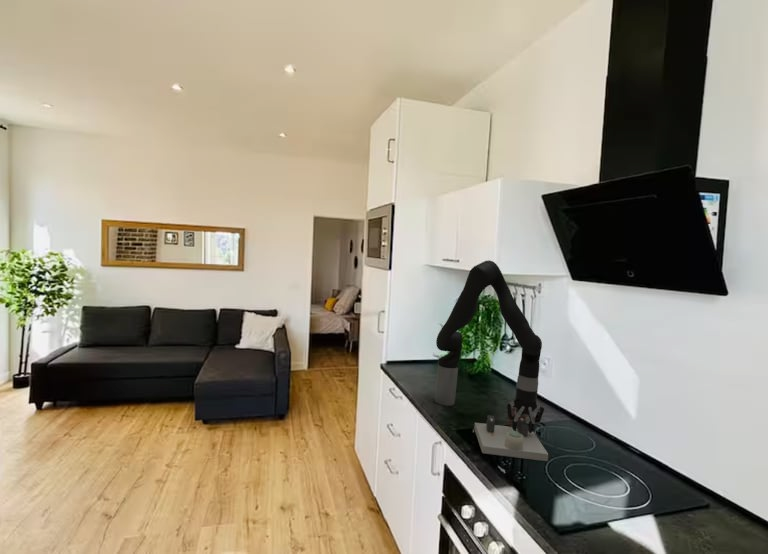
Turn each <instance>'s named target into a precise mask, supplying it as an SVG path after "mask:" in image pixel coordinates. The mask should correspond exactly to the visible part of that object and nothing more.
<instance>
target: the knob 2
mask: <svg viewBox="0 0 768 554" xmlns="http://www.w3.org/2000/svg"><path fill="white" fill-rule="evenodd" d="M528 428H529V423H527V420H526V421H525V420H524V419H522V418H520V419H518V424H517V430H518V432H519V433H520V434H522V435H523V436H527V437H528Z"/></svg>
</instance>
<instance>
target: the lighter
mask: <svg viewBox="0 0 768 554" xmlns="http://www.w3.org/2000/svg"><path fill="white" fill-rule="evenodd" d="M512 402H514V400H513V401H512ZM515 410H516V407H515V406H513V408H512V409H511V411H512V416H513V415H514V412H515ZM520 418H522V419H524V420H525V421H526V422H527V415H526V414H521V415H520V417H519V418H518V419H520ZM517 424H518V420H517ZM507 425H508V426H509V427H512V420H511V419H509V418H508V421H507Z"/></svg>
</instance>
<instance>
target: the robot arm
mask: <svg viewBox="0 0 768 554" xmlns="http://www.w3.org/2000/svg"><path fill="white" fill-rule="evenodd" d="M489 286H490V287H492V288H493V290H494V291H495V293H496V298H497V300H498V304H499V309H500V314H501V316H502V318H503V320H504V321H505V323H506V324H507V326H508V327H509V329H510V331H512V333H513V334H514V337H515V339H516V341H517V342H518V344H519V346H520V348H521V357H520V362H519V367H518V376H517V379H516V390H515V399H514V400H513V401H514V402H513V401H512V402H509V401H506V402H505V404H506V412H507V417H508V420H509V419H511V420H512V426H511V427H512V429H513V430H514V431H516V429H517V420H518V418H519V417H520V415H521V414H526V416H528V418H529V421H528V426H529V428H528V431H529V433H532V432H534V430H535V424H536V423H537V424H538V423H540V422H541V420H542V417H543V416H544V415H543V414H544V411H545V407H544V406H543V405H538V404H537V400H538V398H537V397H538V391H539V390H538V389H539V375H540V374H539V373H540V358H541V352H542V349H543V348H542V347H543V342H542V339H541V337H540V336H538V335H537V334H536V333H535V332H534V330H533V329H532V328H531V326H530V323H529V321H528V319H527V317H526V316H525V314H524V313H523V312H522V310H521V309H520V307H519V306H518V304H517V302H516V300H515V298H514V297H513V294H512V293H511V290H510V288H509V286H508V283H507V281H506V278H504V275H503V272H502V271H501V268H500V267H499V266H498V264H497V263H496V262H495V261H492V260H490V259H489V260H485V261H481V262H480V263H478V264H476V265H474V266H473V267H472V268H471V269H470V271H469V273H468V275H467V278H466V280H465V284H464V286H463V289H462V291H461V293H460V294H459V296H458V299H457V300H456V301H455V304H454V306H453V307H452V310H451V313H449V316H448V318H447V320H446V322H445V323H444V325H443V326H442V327H441V328H440V330H439V332H438V333H437V337H436V339H435V340H436V341H435V342H436V347H437V349H438V350H439V351H441V352H442V351H443V352H448V353H447V354H445V355H442V356H441V357H439V358H438V360H437V372H436V383H435V392H434V402H435V403H436V404H438V405H441V406H446V407H447V406H448V407H449V406H450V407H451V406H454V405H455V402H456V393H457V392H456V391H457V383H458V372H459V364H460V361H461V353H462V349H463V336H462V334H461V332H459V330H461V329H463V328H464V327H466V326H467V325H469V324H470V323H471V322H472V321H473V319H474V317H475V315H476V314H477V311H478V310H479V303H478V300H479V297H480V296H481V294H482V292H484V290H485V289H486V288H488V287H489ZM513 406H515V407H516V410H515V412H514V415H513V416H512V411H511V409H512V408H513ZM535 410H536V414H535V416H534V411H535Z"/></svg>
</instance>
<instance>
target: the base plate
mask: <svg viewBox="0 0 768 554" xmlns="http://www.w3.org/2000/svg"><path fill="white" fill-rule="evenodd" d="M486 424H487V423H484V422H483V423H481V422H474V428H473V429H474V432H475V435H476V438H477V441H478V444H479V447H480V450H481V453H482V454H484V455H485V454H486V455H494V456H495V455H496V456H502V457H511V458H518V459H519V458H520V459H526V460H534V461H543V462H548V461H549V453H548V451H547V450H546V448H545V447H544V445H543V444H542V443H541V441H540V440H539V438H538V437H537V435H536V433H535V432H534V431H533V432H532V433H529V431H528V437H527V436H523V435H522V434H520V433H519V432H518V430H517V429H516V431H514V430H513V429H512V426H509V425H508V426H506V425H497V424H495V427H494V432H488V431H487V426H486Z"/></svg>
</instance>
